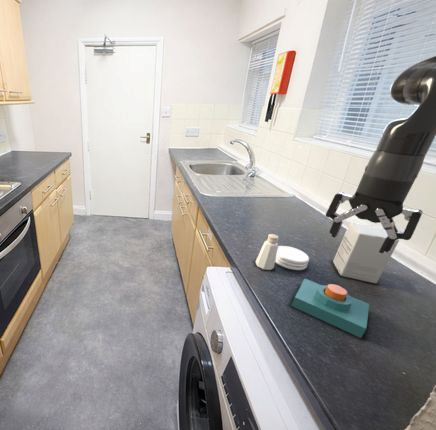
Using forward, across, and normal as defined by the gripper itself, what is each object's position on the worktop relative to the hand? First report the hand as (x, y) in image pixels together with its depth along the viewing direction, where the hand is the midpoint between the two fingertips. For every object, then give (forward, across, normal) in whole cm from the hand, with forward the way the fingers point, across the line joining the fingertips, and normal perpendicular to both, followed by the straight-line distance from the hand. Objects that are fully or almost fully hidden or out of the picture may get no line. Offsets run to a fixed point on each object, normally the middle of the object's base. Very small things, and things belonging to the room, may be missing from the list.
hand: (356, 243), depth 60 cm
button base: (+20, 0, 0) cm, 20 cm away
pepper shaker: (+20, +19, -7) cm, 28 cm away
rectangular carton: (+20, 0, -26) cm, 33 cm away
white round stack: (+20, +15, -15) cm, 29 cm away
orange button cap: (+15, 0, 0) cm, 15 cm away
